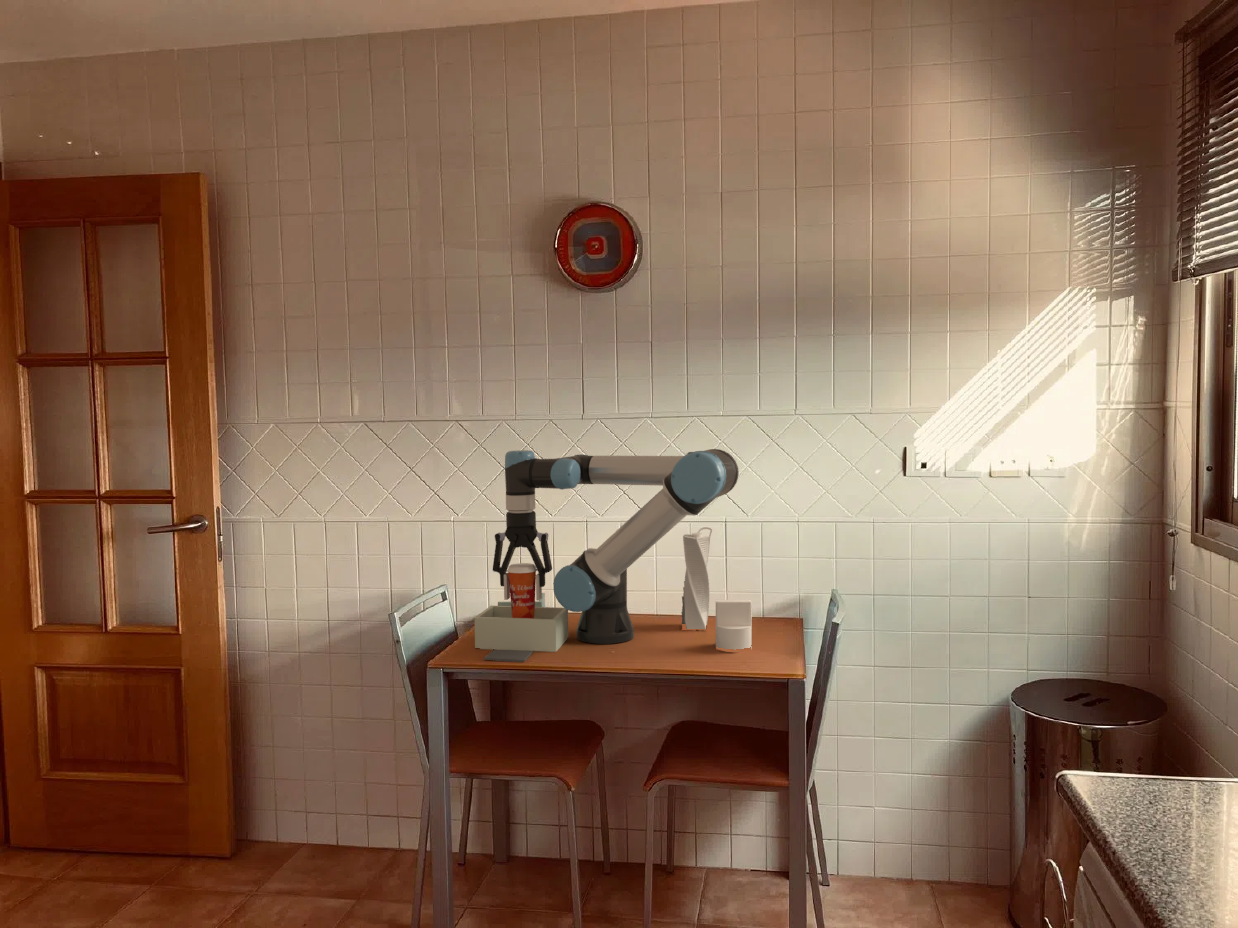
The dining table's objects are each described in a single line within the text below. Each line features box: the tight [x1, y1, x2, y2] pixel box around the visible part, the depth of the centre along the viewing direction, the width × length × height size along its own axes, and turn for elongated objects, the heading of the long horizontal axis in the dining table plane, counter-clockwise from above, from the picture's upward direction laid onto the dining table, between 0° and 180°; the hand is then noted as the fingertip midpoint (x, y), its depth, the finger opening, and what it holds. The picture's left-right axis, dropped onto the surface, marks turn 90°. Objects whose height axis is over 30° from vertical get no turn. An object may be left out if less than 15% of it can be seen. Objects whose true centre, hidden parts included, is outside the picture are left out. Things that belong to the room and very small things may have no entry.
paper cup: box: [506, 562, 538, 619], centre depth 248 cm, size 8×8×14 cm
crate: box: [474, 605, 569, 653], centre depth 249 cm, size 21×14×8 cm, turn 80°
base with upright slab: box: [715, 599, 753, 650], centre depth 243 cm, size 9×9×12 cm
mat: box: [483, 649, 534, 663], centre depth 237 cm, size 10×8×1 cm
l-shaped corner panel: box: [497, 592, 546, 607], centre depth 270 cm, size 12×12×8 cm
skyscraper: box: [681, 526, 713, 629], centre depth 263 cm, size 8×8×28 cm
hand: (523, 598), depth 249 cm, fingers closed on paper cup, 8 cm apart
